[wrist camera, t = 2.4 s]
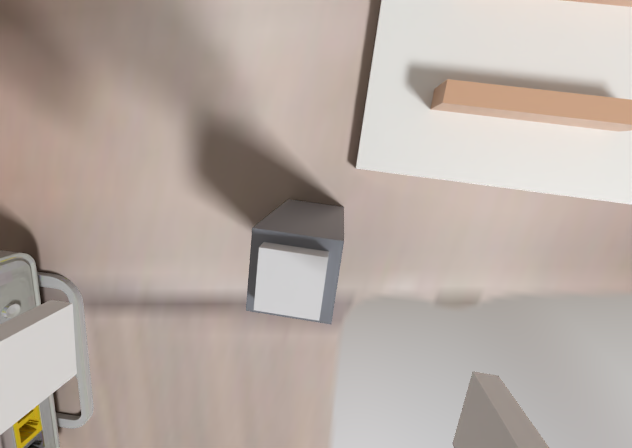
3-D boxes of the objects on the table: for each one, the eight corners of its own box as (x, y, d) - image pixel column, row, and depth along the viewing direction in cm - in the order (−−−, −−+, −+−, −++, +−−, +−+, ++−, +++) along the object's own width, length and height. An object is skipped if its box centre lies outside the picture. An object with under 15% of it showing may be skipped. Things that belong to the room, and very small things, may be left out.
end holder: (399, -118, 21) (411, -179, 17) (764, -91, 20) (867, -151, 16) (355, 168, 26) (357, 170, 22) (649, 206, 24) (707, 215, 21)
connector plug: (288, 199, 27) (246, 232, 15) (343, 207, 27) (343, 246, 15) (283, 251, 28) (240, 319, 17) (335, 259, 28) (330, 334, 16)
